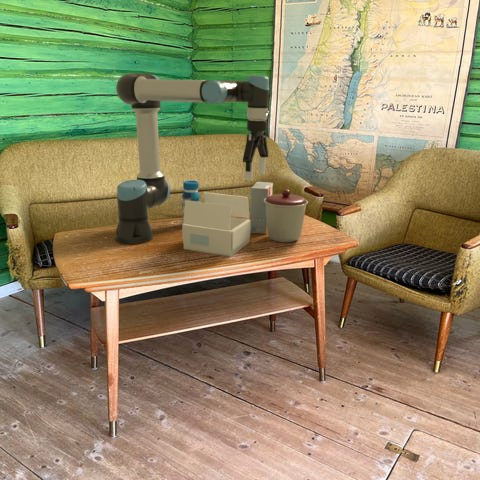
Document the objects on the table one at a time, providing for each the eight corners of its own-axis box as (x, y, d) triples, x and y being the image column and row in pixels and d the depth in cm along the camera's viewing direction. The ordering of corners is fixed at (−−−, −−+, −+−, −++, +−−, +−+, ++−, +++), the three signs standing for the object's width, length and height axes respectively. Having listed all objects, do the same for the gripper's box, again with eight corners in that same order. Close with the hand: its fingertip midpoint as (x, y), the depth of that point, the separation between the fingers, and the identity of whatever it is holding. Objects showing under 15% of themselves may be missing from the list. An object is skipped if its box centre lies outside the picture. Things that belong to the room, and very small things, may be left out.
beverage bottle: (200, 228, 216) (200, 183, 210) (181, 228, 215) (180, 183, 209) (201, 222, 224) (200, 180, 218) (182, 222, 223) (181, 180, 217)
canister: (273, 247, 192) (276, 195, 185) (255, 234, 208) (256, 186, 201) (313, 243, 198) (317, 192, 192) (293, 230, 214) (295, 183, 208)
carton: (181, 249, 189) (181, 224, 186) (203, 236, 204) (203, 213, 201) (232, 257, 181) (232, 231, 178) (250, 243, 196) (251, 219, 193)
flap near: (183, 223, 185) (183, 223, 184) (185, 200, 184) (185, 200, 183) (229, 230, 178) (228, 230, 177) (231, 205, 177) (231, 205, 176)
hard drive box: (266, 234, 208) (267, 189, 202) (248, 233, 210) (249, 188, 204) (271, 224, 223) (273, 182, 217) (255, 223, 224) (256, 181, 218)
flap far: (203, 192, 197) (204, 192, 197) (206, 212, 201) (206, 211, 201) (247, 197, 190) (247, 197, 190) (248, 218, 194) (249, 217, 194)
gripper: (254, 122, 166) (252, 183, 173) (277, 118, 188) (275, 172, 195) (234, 121, 169) (233, 181, 176) (259, 117, 191) (257, 170, 197)
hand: (255, 176), depth 185 cm, fingers open, 13 cm apart
